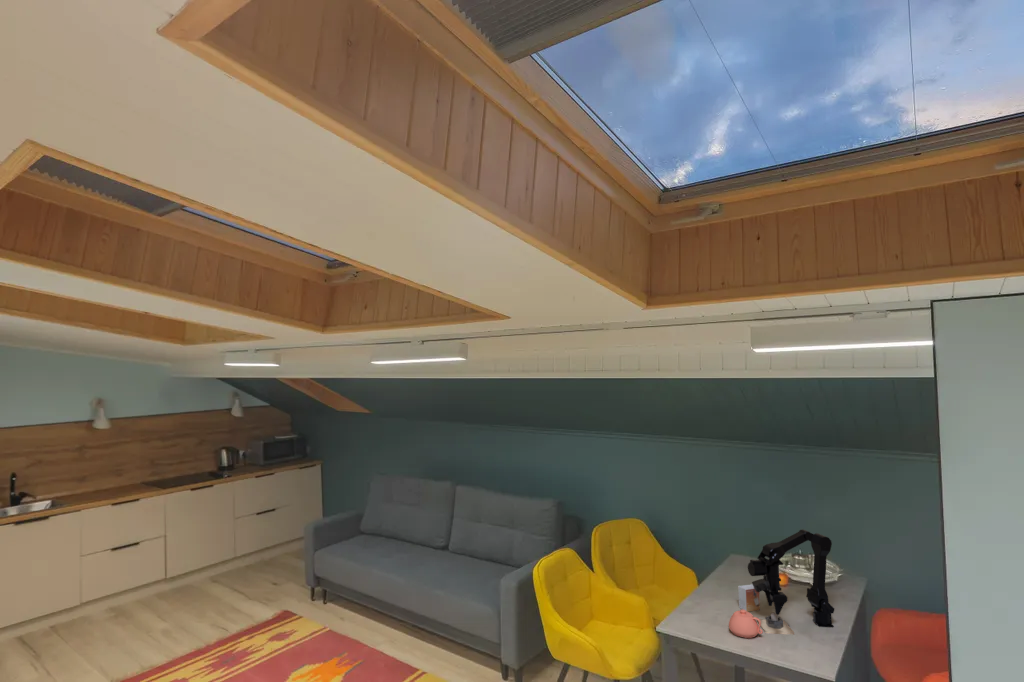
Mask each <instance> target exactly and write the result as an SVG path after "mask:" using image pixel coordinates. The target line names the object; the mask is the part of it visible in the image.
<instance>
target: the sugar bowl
mask: <svg viewBox="0 0 1024 682" xmlns="http://www.w3.org/2000/svg"><path fill="white" fill-rule="evenodd" d="M760 619H761V618H759V617H755V616H754V615H753V614H752V613H751V612H750V611H748V612H747V611H746V610H743V609H741V608H740V610H736V611H734V612H733V613H732V615H730V618H729V621H728V629H729V630H730V631H731V633H733V635H734V636H737V637H740V638H746V639H749V640H750V639H751V638H754V637H757V635H758V634H759V635H762V634H763V633H764V631H763V629H762V628H761V627H760V626H761V621H760ZM757 620H758V621H759V624H758V623H757Z"/></svg>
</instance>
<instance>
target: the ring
mask: <svg viewBox="0 0 1024 682" xmlns="http://www.w3.org/2000/svg"><path fill="white" fill-rule="evenodd" d="M765 620H766V624H767V625H768V627H771V628H774V629H781V628H783V620H784V619H783V618H782V617H781V616H778V621H773V620H771V615H767V616H765Z"/></svg>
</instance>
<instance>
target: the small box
mask: <svg viewBox="0 0 1024 682" xmlns="http://www.w3.org/2000/svg"><path fill="white" fill-rule="evenodd" d="M737 587H738V590H737V591H738V608H740V610H741V609H743V610H746V611H747V612H754V611H755V612H757V611H760V610H761V607H760V606H761V602H760V601H761V599H760V592H756V590H755V589H754V587H753V584H752V583H751V584H744V585H738V586H737Z"/></svg>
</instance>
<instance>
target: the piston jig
mask: <svg viewBox="0 0 1024 682" xmlns="http://www.w3.org/2000/svg"><path fill="white" fill-rule="evenodd" d="M770 616H771V620H773V621H778V617H779V615H777V614H776V612H771V613H770ZM759 619H760V621H761V626H760V629H762V630H763V633H765V634H769V635H770V634H773V635H792V636H793V635H795V632H794V630H793V629H792V628H791V627H790V626H789V625H788V623H787V622H786V621H785V620H784V619H782V620H783V628H781V629H774V628H771V627H768V625H767V624H766V619H761V618H759ZM756 622H757V624H758V625H759V621H758V620H756Z"/></svg>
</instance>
